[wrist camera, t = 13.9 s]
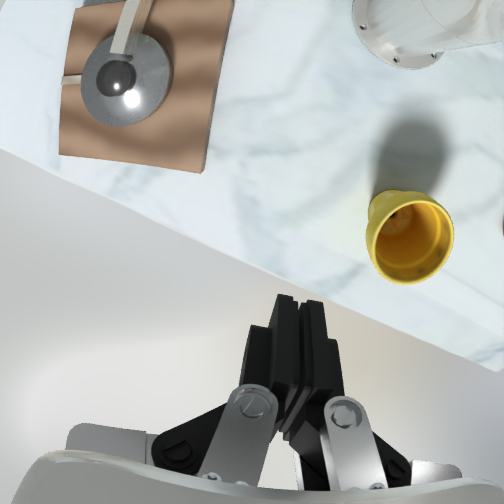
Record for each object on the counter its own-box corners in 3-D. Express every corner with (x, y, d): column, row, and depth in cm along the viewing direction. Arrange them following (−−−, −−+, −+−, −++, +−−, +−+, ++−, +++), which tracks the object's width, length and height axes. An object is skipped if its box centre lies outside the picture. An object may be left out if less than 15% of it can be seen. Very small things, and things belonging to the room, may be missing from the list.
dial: (159, 133, 34) (144, 138, 30) (82, 116, 34) (61, 121, 30) (208, -24, 24) (199, -37, 20) (122, -27, 24) (105, -37, 20)
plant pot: (340, 197, 38) (355, 228, 30) (407, 161, 35) (441, 183, 26) (371, 258, 42) (389, 299, 33) (432, 226, 38) (463, 260, 30)
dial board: (83, 10, 28) (74, 8, 26) (234, 4, 28) (231, -1, 26) (66, 151, 38) (57, 155, 36) (204, 170, 38) (199, 174, 36)
